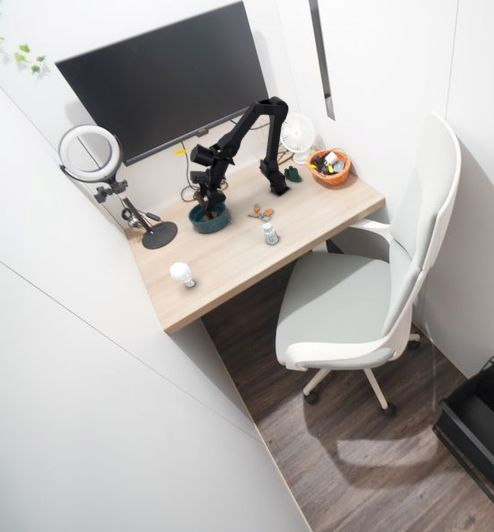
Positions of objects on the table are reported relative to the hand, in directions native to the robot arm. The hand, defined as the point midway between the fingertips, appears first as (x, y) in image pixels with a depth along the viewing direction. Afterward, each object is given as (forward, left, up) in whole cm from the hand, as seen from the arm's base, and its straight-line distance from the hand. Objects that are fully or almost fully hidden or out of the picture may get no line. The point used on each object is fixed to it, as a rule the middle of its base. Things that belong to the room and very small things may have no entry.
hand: (203, 205), depth 129 cm
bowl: (0, 0, -9) cm, 9 cm away
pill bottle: (-7, +31, -9) cm, 33 cm away
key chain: (-15, +14, -9) cm, 23 cm away
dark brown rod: (0, 0, -8) cm, 8 cm away
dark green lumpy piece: (-41, +7, -9) cm, 43 cm away
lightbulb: (+25, +23, -9) cm, 35 cm away
